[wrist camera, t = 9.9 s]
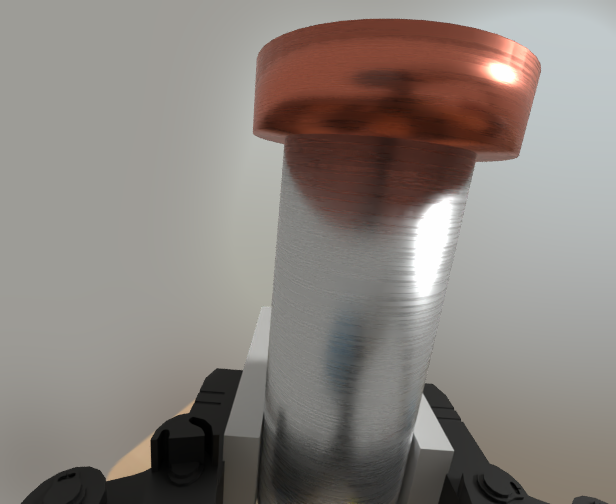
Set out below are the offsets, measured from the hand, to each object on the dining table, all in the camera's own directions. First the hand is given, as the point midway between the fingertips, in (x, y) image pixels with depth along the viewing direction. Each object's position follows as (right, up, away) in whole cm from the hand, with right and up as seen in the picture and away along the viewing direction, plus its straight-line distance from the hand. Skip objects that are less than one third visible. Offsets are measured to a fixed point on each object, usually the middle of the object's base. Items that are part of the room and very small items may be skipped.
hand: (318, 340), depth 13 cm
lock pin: (-1, -11, -3) cm, 12 cm away
